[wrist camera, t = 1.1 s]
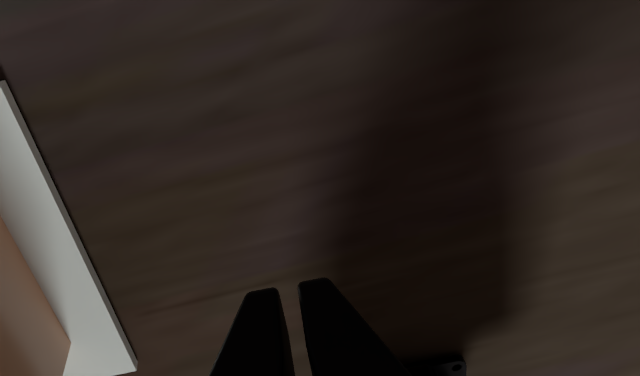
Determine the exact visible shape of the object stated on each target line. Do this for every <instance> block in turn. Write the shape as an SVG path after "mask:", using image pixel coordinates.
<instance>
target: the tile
mask: <svg viewBox="0 0 640 376" xmlns="http://www.w3.org/2000/svg"><path fill="white" fill-rule="evenodd" d="M70 346H71V342H70V340H69V338H68V336H67V334H66V333H65V331H64V329H63V327H62V325H61V324H60V322H59V320H58V318H57V316H56V315H55V313H54V311H53V309H52V307H51V306H50V304H49V302H48V300H47V298H46V297H45V295H44V293H43V291H42V289H41V288H40V286H39V284H38V282H37V280H36V279H35V277H34V275H33V273H32V271H31V270H30V268H29V266H28V264H27V262H26V261H25V259H24V257H23V255H22V253H21V252H20V250H19V248H18V246H17V244H16V243H15V241H14V239H13V237H12V235H11V234H10V232H9V230H8V228H7V226H6V225H5V223H4V221H3V219H2V217H1V216H0V376H63V373H64V369H65V365H66V361H67V357H68V353H69V350H70Z"/></svg>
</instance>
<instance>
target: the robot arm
mask: <svg viewBox="0 0 640 376" xmlns="http://www.w3.org/2000/svg"><path fill="white" fill-rule="evenodd" d="M298 294H299V301H300V308H301V314H302V321H303V327H304V334H305V341H306V347H307V352H308V357H309V362H310V366H311V371H312V376H466V363H465V360H464V358H463V357H462V356H461V355H452V356H447V357H442V358H437V359H432V360H427V361H422V362H417V363H412V364H407V365H402V363H401V362H400V361H399V360H398V359H397V358H396V356H395V355H394V354H393V353H392V352H391V351H390V349H389V348H388V347H387V346H386V345H385V344H384V342H383V341H382V340H381V339H380V338H379V337H378V335H377V334H376V333H375V332H374V331H373V330H372V328H371V327H370V326H369V325H368V324H367V323H366V321H365V320H364V319H363V318H362V317H361V316H360V314H359V313H358V312H357V311H356V310H355V309H354V307H353V306H352V305H351V304H350V303H349V302H348V300H347V299H346V298H345V297H344V296H343V295H342V293H341V292H340V291H339V290H338V289H337V288H336V286H335V285H334V284H333V283H332V282H331V281H330V280H329V279H328V278H318V279H313V280H308V281H303V282H300V283H299V285H298ZM209 376H295V372H294V365H293V359H292V352H291V346H290V340H289V335H288V330H287V325H286V321H285V317H284V312H283V308H282V304H281V299H280V295H279V292H278V290H277V289H276V288H267V289H262V290H257V291H251V292H249V293H247V294H246V296H245V297H244V299H243V301H242V304H241V306H240V308H239V310H238V312H237V315H236V317H235V319H234V321H233V323H232V326H231V328H230V330H229V332H228V334H227V337H226V339H225V341H224V343H223V345H222V347H221V350H220V352H219V354H218V356H217V358H216V361H215V363H214V365H213V367H212V369H211V372H210V374H209Z"/></svg>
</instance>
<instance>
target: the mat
mask: <svg viewBox="0 0 640 376" xmlns="http://www.w3.org/2000/svg"><path fill="white" fill-rule="evenodd" d="M0 216H1V217H2V219H3V221H4V223H5V225H6V226H7V228H8V230H9V232H10V234H11V235H12V237H13V239H14V241H15V243H16V244H17V246H18V248H19V250H20V252H21V253H22V255H23V257H24V259H25V261H26V262H27V264H28V266H29V268H30V270H31V271H32V273H33V275H34V277H35V279H36V280H37V282H38V284H39V286H40V288H41V289H42V291H43V293H44V295H45V297H46V298H47V300H48V302H49V304H50V306H51V307H52V309H53V311H54V313H55V315H56V316H57V318H58V320H59V322H60V324H61V325H62V327H63V329H64V331H65V333H66V334H67V336H68V338H69V340H70V342H71V346H70V350H69V353H68V357H67V361H66V365H65V369H64V373H63V376H113V375H118V374H123V373H128V372H133V371H137V363H138V361H137V359H136V357H135V355H134V353H133V351H132V349H131V347H130V344H129V342H128V340H127V338H126V336H125V334H124V332H123V330H122V327H121V325H120V323H119V321H118V319H117V317H116V315H115V313H114V310H113V308H112V306H111V304H110V302H109V300H108V298H107V296H106V293H105V291H104V289H103V287H102V285H101V283H100V281H99V279H98V276H97V274H96V272H95V270H94V268H93V266H92V264H91V262H90V259H89V257H88V255H87V253H86V251H85V249H84V247H83V245H82V242H81V240H80V238H79V236H78V234H77V232H76V230H75V228H74V225H73V223H72V221H71V219H70V217H69V215H68V213H67V211H66V208H65V206H64V204H63V202H62V200H61V198H60V196H59V194H58V191H57V189H56V187H55V185H54V183H53V181H52V179H51V177H50V174H49V172H48V170H47V168H46V166H45V164H44V162H43V160H42V157H41V155H40V153H39V151H38V149H37V147H36V145H35V143H34V140H33V138H32V136H31V134H30V132H29V130H28V128H27V126H26V123H25V121H24V119H23V117H22V115H21V113H20V111H19V109H18V106H17V104H16V102H15V100H14V98H13V96H12V94H11V92H10V89H9V87H8V85H7V83H6V81H5V80H3V81H0Z"/></svg>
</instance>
